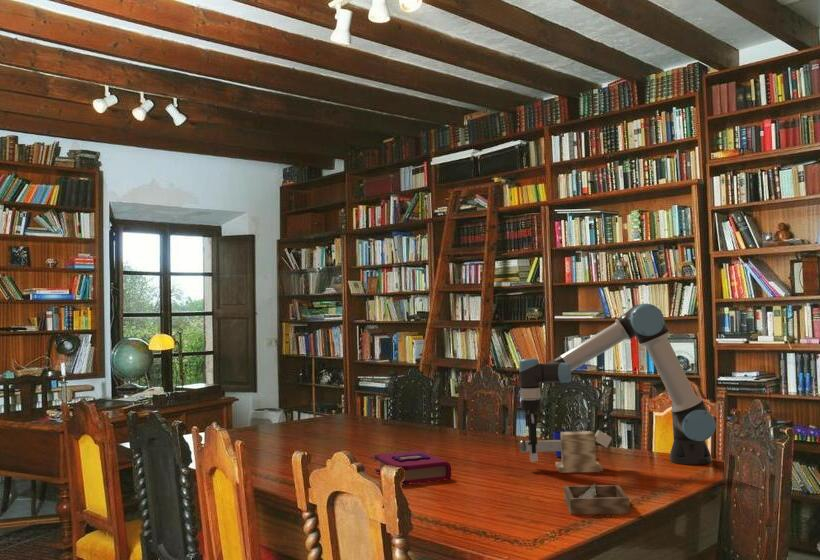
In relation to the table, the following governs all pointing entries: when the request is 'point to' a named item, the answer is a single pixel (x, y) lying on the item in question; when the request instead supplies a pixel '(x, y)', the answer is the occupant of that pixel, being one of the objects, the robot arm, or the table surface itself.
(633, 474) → the table surface
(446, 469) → the book
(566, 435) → the block
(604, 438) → the spacer
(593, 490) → the rock sample
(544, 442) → the shaft
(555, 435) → the mug
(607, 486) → the wooden tray
